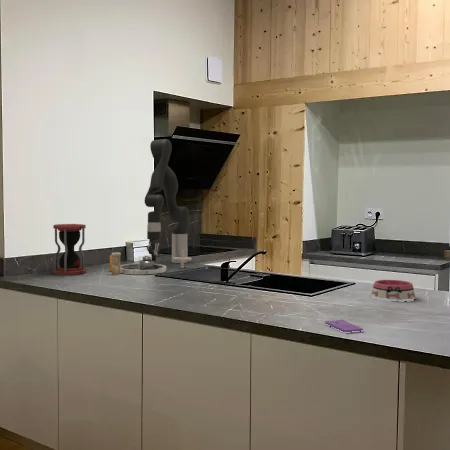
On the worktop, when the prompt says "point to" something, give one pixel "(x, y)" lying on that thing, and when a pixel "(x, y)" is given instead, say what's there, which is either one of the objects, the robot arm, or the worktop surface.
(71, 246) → the hourglass
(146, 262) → the cover
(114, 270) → the gauge stand
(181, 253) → the pipe connector
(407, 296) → the dog bowl
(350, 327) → the sponges
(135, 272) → the ring
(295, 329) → the worktop surface
